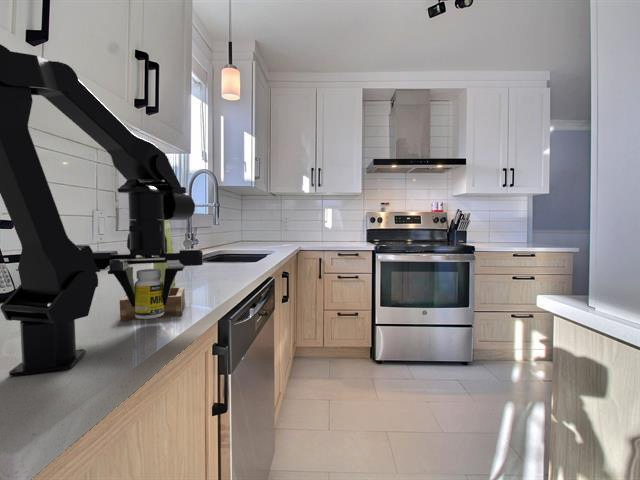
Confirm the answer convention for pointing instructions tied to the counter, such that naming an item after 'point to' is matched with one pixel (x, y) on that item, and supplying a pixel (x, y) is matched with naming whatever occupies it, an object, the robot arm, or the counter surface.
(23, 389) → the counter surface
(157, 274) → the supplement bottle
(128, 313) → the walnut box
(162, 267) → the tube
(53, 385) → the counter surface
